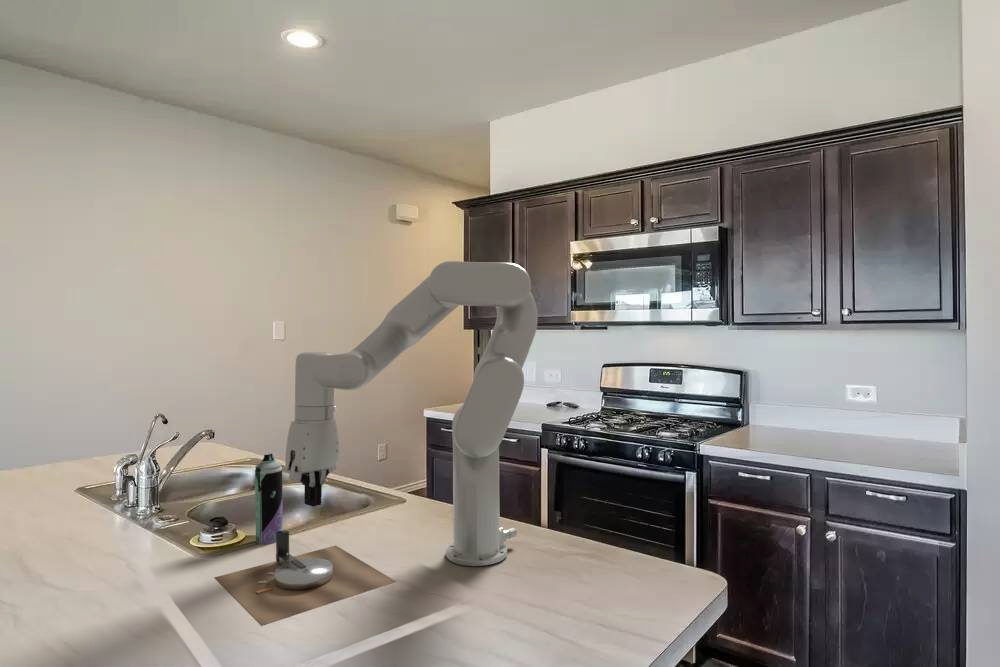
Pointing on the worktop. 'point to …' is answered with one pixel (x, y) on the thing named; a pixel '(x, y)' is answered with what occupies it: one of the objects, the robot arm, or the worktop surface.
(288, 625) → the worktop surface
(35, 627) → the worktop surface
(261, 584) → the board
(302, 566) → the dial
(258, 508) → the spray can
